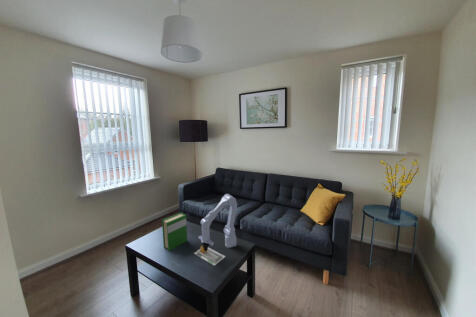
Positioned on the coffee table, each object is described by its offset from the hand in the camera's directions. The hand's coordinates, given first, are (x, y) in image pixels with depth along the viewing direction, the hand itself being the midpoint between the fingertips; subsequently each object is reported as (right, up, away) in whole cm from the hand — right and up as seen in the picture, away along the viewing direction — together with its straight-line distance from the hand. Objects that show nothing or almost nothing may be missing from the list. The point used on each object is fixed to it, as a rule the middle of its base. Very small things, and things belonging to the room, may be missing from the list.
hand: (206, 250), depth 146 cm
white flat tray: (+3, -4, -2) cm, 5 cm away
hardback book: (-28, -2, +14) cm, 31 cm away
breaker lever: (-2, -2, +2) cm, 3 cm away
